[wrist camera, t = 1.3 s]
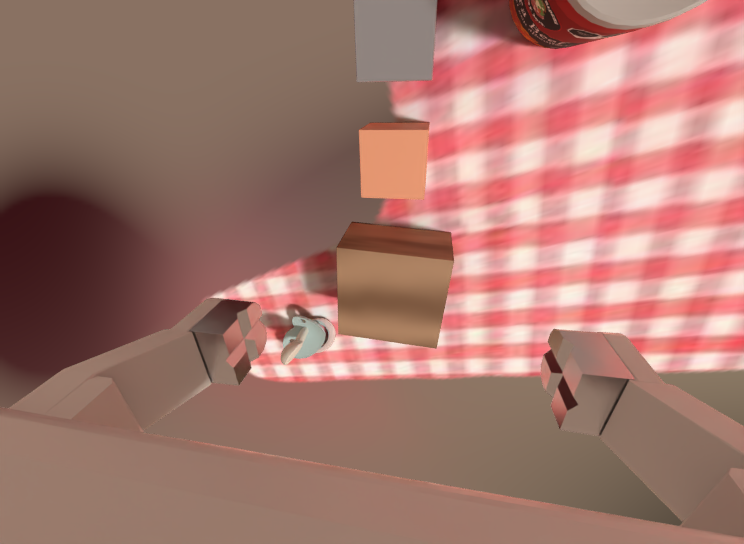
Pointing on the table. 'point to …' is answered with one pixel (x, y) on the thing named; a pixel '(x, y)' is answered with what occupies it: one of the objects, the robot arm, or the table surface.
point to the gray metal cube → (395, 39)
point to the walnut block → (393, 283)
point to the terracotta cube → (393, 160)
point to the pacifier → (306, 338)
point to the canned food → (590, 18)
